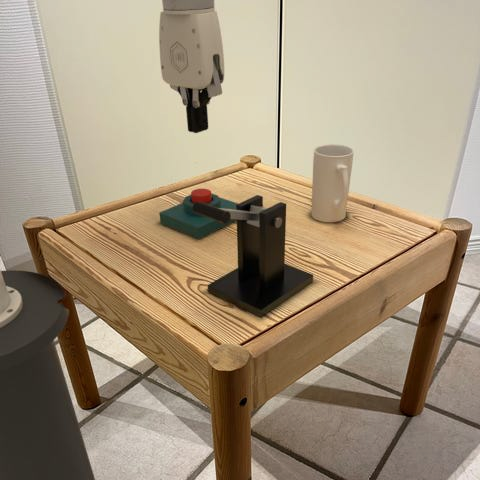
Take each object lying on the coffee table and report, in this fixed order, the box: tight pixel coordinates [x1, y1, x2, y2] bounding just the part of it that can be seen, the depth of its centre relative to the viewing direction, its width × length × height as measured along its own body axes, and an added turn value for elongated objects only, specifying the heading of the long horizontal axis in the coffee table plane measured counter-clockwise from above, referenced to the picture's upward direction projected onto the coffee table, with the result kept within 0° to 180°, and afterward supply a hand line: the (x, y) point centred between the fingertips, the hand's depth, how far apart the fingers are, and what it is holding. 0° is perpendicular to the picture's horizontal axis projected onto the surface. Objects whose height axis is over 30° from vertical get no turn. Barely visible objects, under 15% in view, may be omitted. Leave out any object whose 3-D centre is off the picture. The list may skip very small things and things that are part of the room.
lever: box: [193, 201, 268, 227], centre depth 65 cm, size 12×5×2 cm, turn 138°
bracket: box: [207, 194, 314, 318], centre depth 71 cm, size 12×10×13 cm
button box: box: [158, 192, 239, 240], centre depth 93 cm, size 12×10×4 cm
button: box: [190, 188, 212, 204], centre depth 91 cm, size 4×4×2 cm
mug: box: [310, 143, 355, 223], centre depth 90 cm, size 10×7×12 cm, turn 12°
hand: (198, 130), depth 85 cm, fingers closed
